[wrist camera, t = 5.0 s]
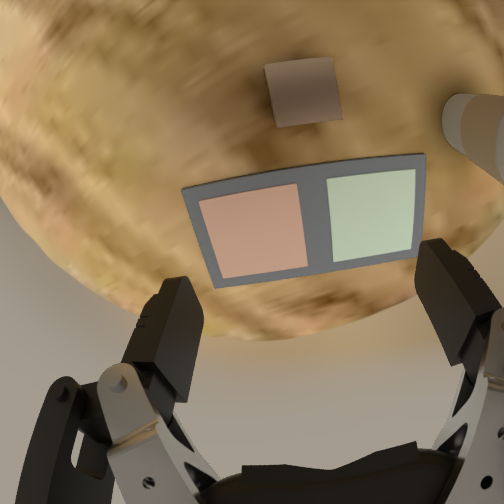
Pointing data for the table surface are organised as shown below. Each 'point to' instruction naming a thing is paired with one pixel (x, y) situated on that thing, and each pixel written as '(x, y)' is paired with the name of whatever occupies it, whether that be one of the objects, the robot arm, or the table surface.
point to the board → (309, 218)
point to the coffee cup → (477, 130)
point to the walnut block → (303, 91)
